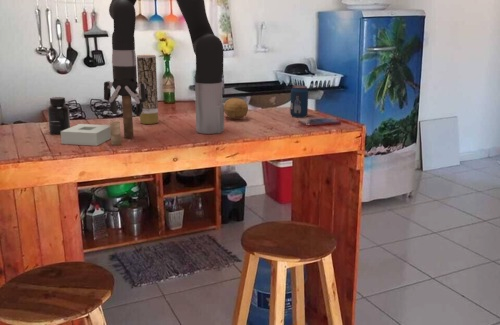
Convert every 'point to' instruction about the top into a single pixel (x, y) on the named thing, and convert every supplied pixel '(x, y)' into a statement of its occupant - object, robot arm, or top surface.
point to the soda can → (299, 101)
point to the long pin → (127, 116)
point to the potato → (235, 108)
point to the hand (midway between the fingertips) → (126, 114)
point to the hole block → (86, 134)
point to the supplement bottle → (58, 115)
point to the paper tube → (148, 88)
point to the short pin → (115, 133)
